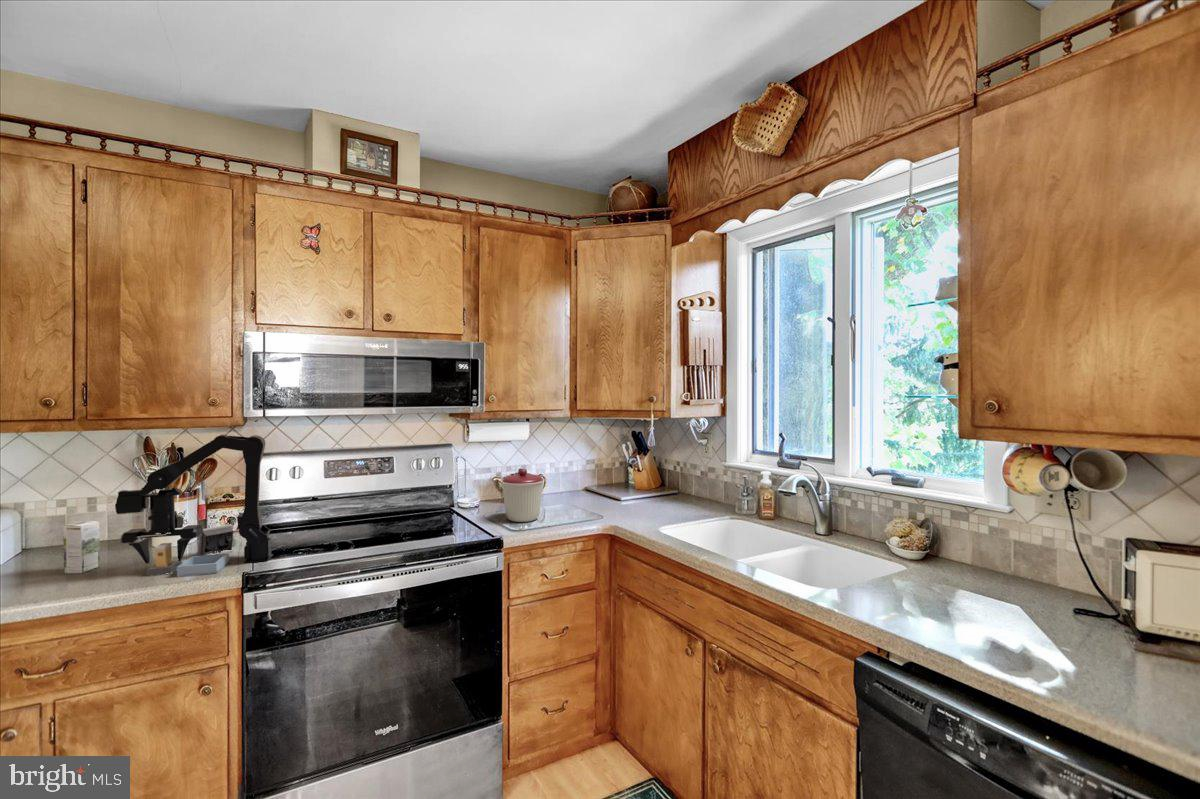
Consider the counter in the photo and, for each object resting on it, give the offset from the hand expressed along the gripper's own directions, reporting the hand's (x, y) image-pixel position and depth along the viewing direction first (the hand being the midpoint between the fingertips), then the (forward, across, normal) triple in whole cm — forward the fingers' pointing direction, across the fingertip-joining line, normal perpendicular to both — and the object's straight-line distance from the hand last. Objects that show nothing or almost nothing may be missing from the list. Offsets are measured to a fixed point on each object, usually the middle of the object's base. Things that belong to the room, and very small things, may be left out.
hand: (164, 561), depth 163 cm
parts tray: (+3, -11, +2) cm, 12 cm away
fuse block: (+3, 0, 0) cm, 3 cm away
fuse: (+3, 0, 0) cm, 3 cm away
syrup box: (+3, +24, -8) cm, 25 cm away
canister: (+3, -113, -30) cm, 117 cm away
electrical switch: (+3, -9, -15) cm, 18 cm away
